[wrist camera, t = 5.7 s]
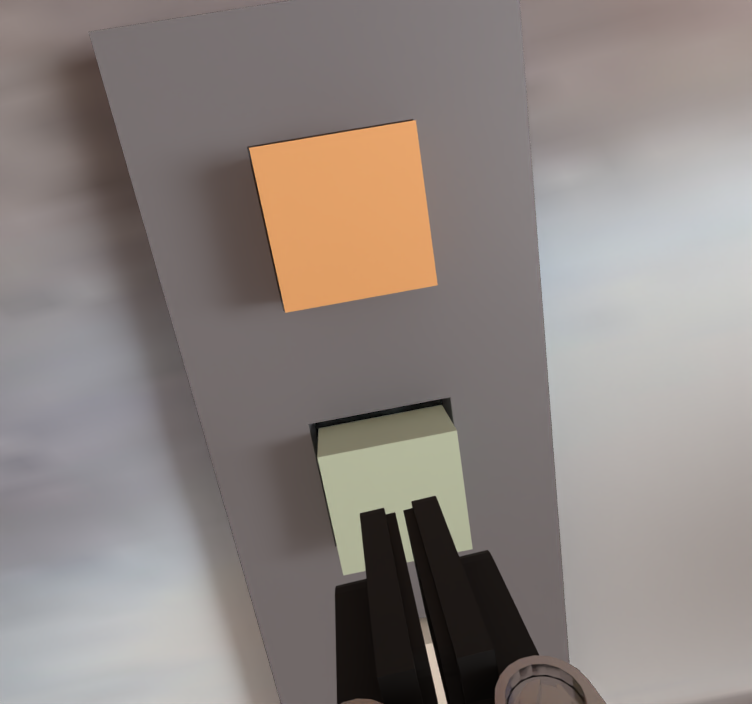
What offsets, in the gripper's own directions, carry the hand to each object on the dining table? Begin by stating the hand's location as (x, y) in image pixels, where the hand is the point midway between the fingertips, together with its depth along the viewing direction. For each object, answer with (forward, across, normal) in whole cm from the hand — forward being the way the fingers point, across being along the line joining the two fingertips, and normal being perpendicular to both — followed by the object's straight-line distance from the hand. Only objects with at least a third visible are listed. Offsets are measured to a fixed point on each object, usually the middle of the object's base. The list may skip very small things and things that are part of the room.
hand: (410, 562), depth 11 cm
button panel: (+9, 0, +2) cm, 9 cm away
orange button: (+7, 0, -7) cm, 10 cm away
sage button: (+7, 0, +2) cm, 8 cm away
